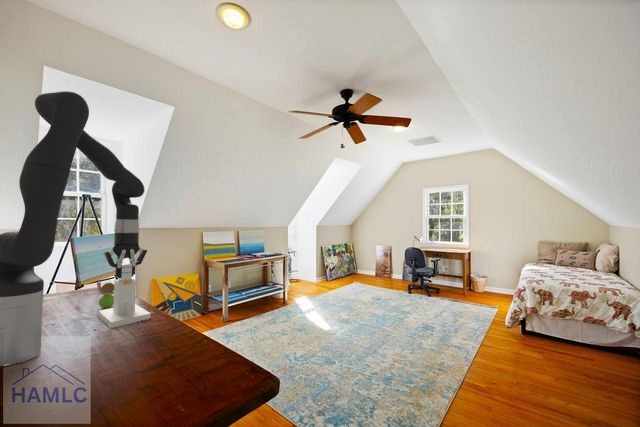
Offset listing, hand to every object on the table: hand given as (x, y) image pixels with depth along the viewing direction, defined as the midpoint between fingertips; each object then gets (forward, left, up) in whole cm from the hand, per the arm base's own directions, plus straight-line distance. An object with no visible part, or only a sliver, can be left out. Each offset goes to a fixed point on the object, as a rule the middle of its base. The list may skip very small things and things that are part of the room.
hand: (125, 276), depth 102 cm
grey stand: (0, 0, -15) cm, 15 cm away
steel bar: (0, 0, -12) cm, 12 cm away
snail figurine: (+4, +18, -15) cm, 24 cm away
